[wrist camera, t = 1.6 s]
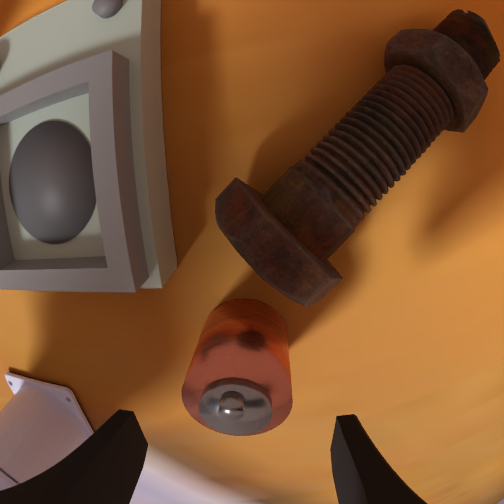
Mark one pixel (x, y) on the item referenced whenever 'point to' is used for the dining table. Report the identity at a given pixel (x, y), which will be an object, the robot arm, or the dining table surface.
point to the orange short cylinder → (240, 370)
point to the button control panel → (84, 151)
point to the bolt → (360, 157)
